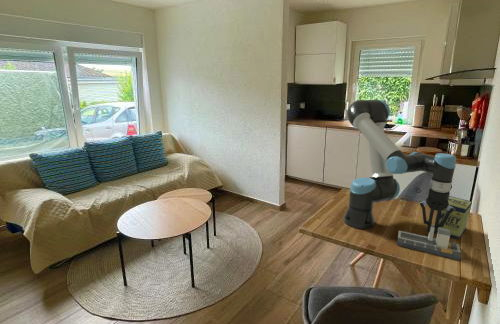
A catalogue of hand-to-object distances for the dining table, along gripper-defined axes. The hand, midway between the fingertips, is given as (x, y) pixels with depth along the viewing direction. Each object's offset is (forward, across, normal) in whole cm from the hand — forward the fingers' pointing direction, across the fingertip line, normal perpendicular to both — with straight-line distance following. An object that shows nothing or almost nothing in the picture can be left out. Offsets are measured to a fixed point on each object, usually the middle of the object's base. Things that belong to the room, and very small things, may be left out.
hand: (430, 239), depth 132 cm
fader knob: (+2, +5, 0) cm, 5 cm away
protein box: (+4, +10, +23) cm, 26 cm away
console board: (+4, -1, 0) cm, 4 cm away
